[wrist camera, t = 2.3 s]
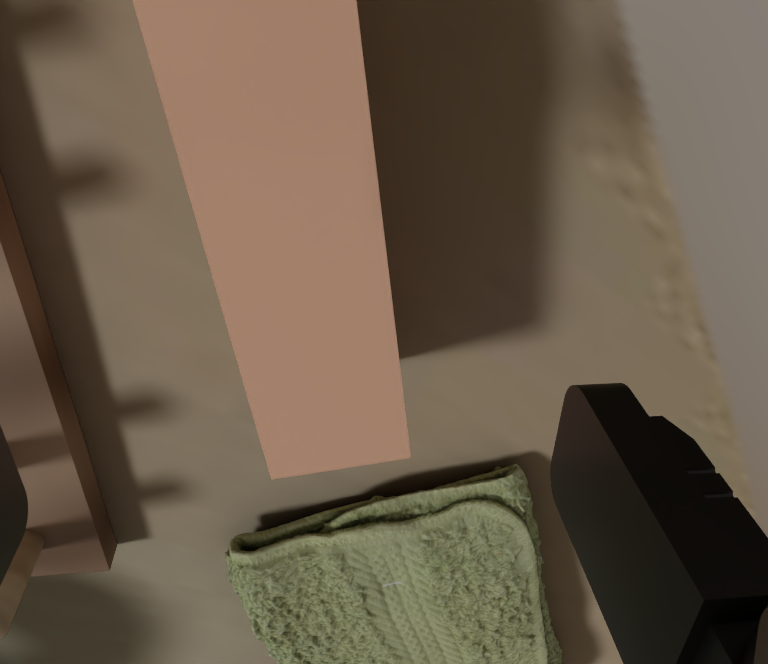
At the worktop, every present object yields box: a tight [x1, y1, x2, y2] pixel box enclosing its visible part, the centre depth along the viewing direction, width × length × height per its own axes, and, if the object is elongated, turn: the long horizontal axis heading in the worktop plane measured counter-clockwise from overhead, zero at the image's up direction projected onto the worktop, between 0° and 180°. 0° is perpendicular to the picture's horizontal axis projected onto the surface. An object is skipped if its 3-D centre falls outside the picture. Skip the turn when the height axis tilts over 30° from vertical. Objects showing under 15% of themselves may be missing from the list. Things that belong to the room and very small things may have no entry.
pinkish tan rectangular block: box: [133, 0, 411, 480], centre depth 17 cm, size 14×4×5 cm, turn 6°
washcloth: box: [225, 464, 563, 664], centre depth 29 cm, size 13×18×3 cm
